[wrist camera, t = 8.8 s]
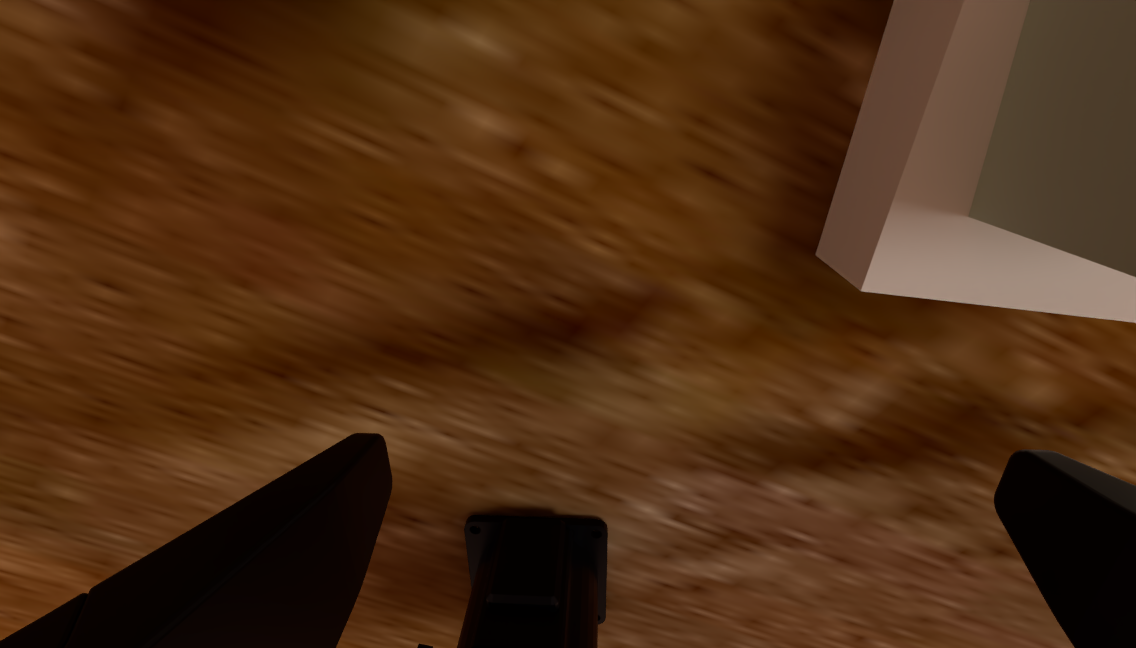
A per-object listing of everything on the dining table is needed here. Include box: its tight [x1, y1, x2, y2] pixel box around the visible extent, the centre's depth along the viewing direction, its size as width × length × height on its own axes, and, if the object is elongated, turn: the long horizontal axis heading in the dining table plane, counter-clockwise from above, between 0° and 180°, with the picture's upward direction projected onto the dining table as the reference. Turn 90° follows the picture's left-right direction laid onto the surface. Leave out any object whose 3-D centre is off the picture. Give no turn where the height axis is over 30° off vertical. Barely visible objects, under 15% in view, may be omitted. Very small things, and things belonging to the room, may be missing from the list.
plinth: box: [816, 0, 1136, 323], centre depth 15 cm, size 12×10×4 cm
